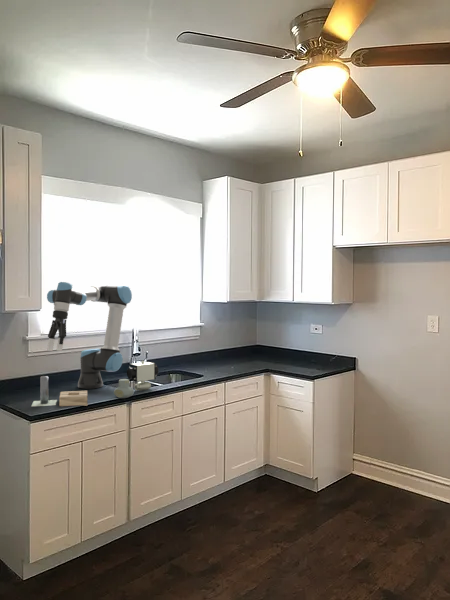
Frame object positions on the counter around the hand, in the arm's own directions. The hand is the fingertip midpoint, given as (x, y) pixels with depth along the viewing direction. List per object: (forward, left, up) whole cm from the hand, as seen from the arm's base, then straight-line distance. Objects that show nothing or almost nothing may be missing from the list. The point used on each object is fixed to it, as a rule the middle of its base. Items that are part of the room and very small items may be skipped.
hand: (54, 350), depth 263 cm
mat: (-4, -5, -29) cm, 30 cm away
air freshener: (-10, +37, -29) cm, 48 cm away
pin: (-4, -5, -28) cm, 29 cm away
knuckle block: (-2, +10, -29) cm, 30 cm away
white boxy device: (-26, +49, -29) cm, 62 cm away
